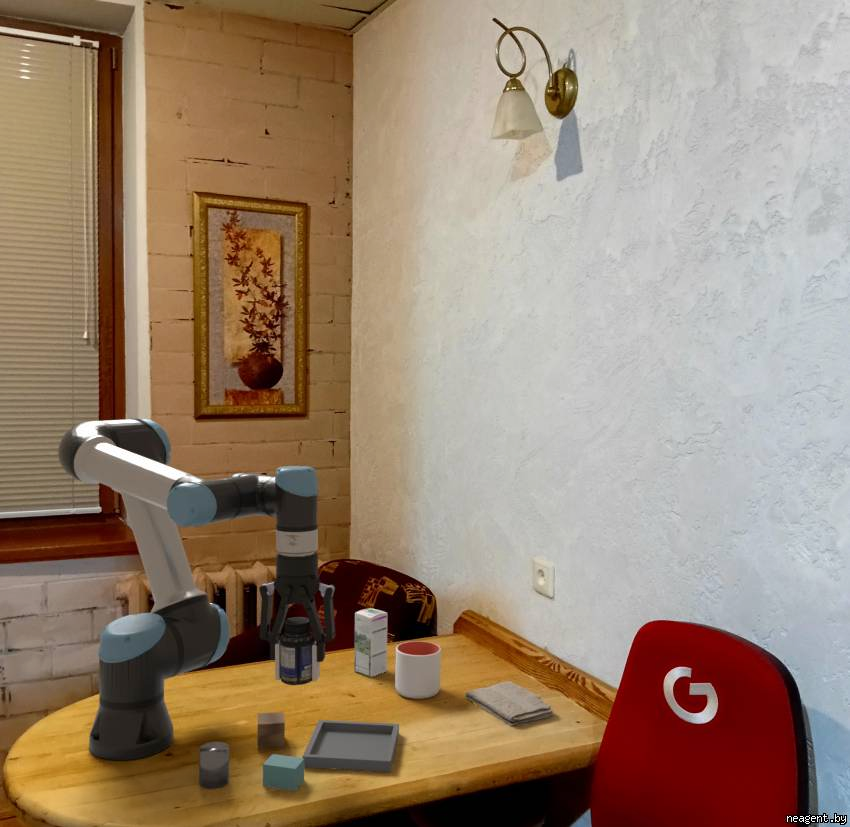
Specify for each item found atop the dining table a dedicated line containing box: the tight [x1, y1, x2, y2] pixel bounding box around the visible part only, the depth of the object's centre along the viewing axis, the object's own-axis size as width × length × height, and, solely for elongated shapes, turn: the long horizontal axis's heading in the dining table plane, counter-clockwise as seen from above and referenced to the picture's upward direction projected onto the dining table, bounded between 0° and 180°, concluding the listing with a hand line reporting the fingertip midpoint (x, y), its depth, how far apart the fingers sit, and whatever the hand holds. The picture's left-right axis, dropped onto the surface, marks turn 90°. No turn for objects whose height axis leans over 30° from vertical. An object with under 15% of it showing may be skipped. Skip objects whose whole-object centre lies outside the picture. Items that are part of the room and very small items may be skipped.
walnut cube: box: [257, 711, 286, 751], centre depth 165 cm, size 5×5×5 cm
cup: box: [394, 640, 442, 700], centre depth 192 cm, size 10×10×10 cm
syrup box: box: [353, 607, 388, 678], centre depth 203 cm, size 6×6×14 cm
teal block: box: [262, 753, 305, 792], centre depth 149 cm, size 6×4×4 cm, turn 76°
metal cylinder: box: [198, 741, 230, 790], centre depth 149 cm, size 5×5×6 cm
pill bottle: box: [279, 616, 315, 686], centre depth 157 cm, size 6×6×11 cm
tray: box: [301, 719, 400, 773], centre depth 163 cm, size 16×16×2 cm
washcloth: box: [464, 681, 555, 728], centre depth 185 cm, size 12×18×3 cm, turn 32°
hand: (297, 677), depth 157 cm, fingers closed on pill bottle, 6 cm apart
